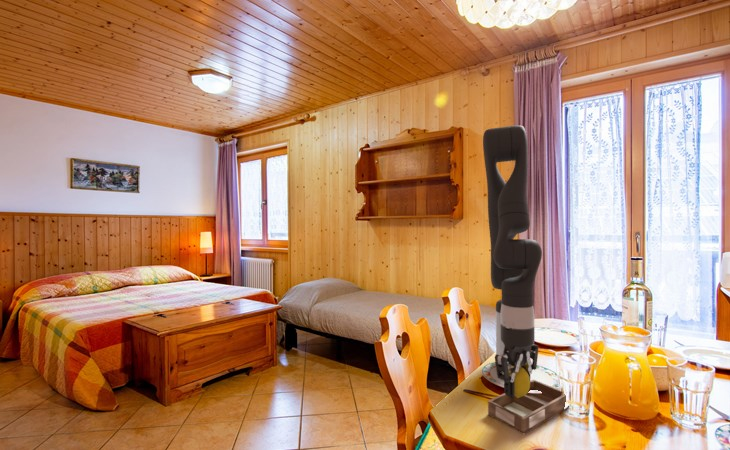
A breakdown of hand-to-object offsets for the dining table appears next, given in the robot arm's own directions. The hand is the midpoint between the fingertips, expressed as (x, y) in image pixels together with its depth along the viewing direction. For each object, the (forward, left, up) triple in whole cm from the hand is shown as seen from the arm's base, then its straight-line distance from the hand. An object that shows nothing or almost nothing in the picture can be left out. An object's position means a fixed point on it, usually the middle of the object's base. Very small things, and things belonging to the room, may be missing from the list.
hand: (517, 391), depth 91 cm
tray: (-5, 0, -6) cm, 8 cm away
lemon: (0, 0, -2) cm, 2 cm away
